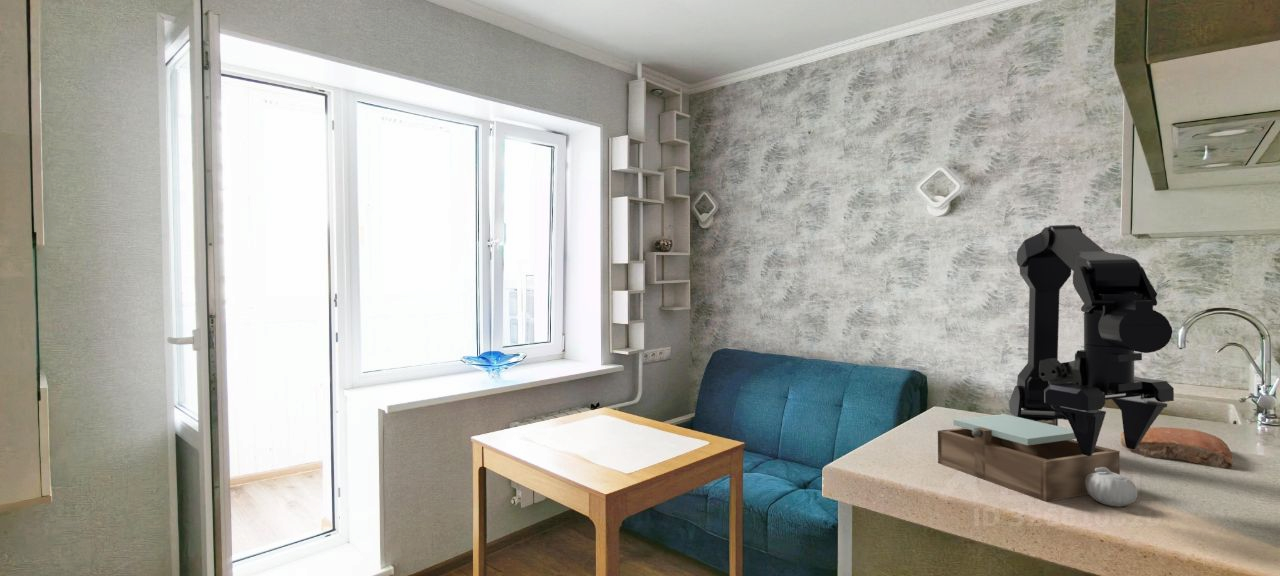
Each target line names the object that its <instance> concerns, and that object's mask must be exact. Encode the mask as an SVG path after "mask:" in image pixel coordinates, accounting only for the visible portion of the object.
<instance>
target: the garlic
mask: <svg viewBox="0 0 1280 576" xmlns="http://www.w3.org/2000/svg"><path fill="white" fill-rule="evenodd" d="M1095 471H1096V473H1091V474H1088V475H1087V476H1086V479H1085V485H1086V489H1087V491H1088V493H1089V494H1088V495H1090V496H1091V498H1093V499H1094V500H1096V502H1098V503H1101V504H1103V505H1106V506H1111V507H1123V506H1124V507H1125V506H1128V505H1131V504H1133V503H1134V502H1135V501H1136V500H1137V498H1138V497H1137V496H1138V489H1137V486H1136V484H1135V483H1134V482H1133V481H1132V480H1131V479H1129V478H1128V477H1127V476H1124V475H1122V474H1120V475H1119V474H1117V473H1113V472H1111V471H1110V470H1109V469H1108V468H1105V467H1100V468H1095ZM1099 471H1106V472H1099Z"/></svg>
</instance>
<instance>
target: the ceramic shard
mask: <svg viewBox="0 0 1280 576" xmlns="http://www.w3.org/2000/svg"><path fill="white" fill-rule="evenodd" d="M1119 436H1120V444H1121V445H1122V446H1123V447H1124V448H1125V449H1126V450H1127V451H1129V452H1131V453H1134V454H1138V455H1140V456H1143V457H1144V458H1152V459H1153V458H1154V459H1155V458H1157V459H1169V460H1170V459H1171V460H1183V461H1187V462H1190V463H1192V462H1193V464H1201V465H1205V466H1211V467H1216V468H1219V469H1220V468H1222V469H1226V470H1228V469H1230V470H1231V469H1232V468H1233V467H1234V459H1233V454H1232V452H1231V449H1230V448H1229V445H1228V444H1227V443H1225V441H1224V440H1223V439H1221V438H1219V437H1218V436H1216V435H1214V434H1211V433H1208V432H1203V431H1201V430H1195V429H1189V428H1181V427H1180V428H1178V427H1164V426H1163V427H1162V426H1161V427H1160V426H1154V427H1150V428H1149V429H1148V431H1147V432H1146V434H1145V435H1144V437H1143V439H1142V440H1141V442H1140V443H1139V445H1138V446H1137V448H1136V449H1129V448H1127V447H1126V444H1125V439H1124V431H1123V432H1121V433H1120V435H1119Z"/></svg>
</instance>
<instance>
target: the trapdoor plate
mask: <svg viewBox="0 0 1280 576" xmlns="http://www.w3.org/2000/svg"><path fill="white" fill-rule="evenodd" d="M952 420H953V426H955V427H957V428H958V427H959V428H966V429H969V430H974V428H985V429H989V430H992V436H995V437H999V438H1002V439H1006V440H1010V441H1013V442H1017V443H1021V444H1024V445H1034V444H1042V443H1049V442H1056V441H1064V440H1076V437H1075V435H1074V432H1073V430H1072V428H1068V427H1063V426H1059V425H1058V426H1055V425H1051V424H1046V423H1042V422H1037V421H1033V420H1029V419H1024V418H1020V417H1016V416H1014V415H1012V414H1006V413H1001V414H991V415H983V416H975V417H964V418H956V419H952Z"/></svg>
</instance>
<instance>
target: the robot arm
mask: <svg viewBox="0 0 1280 576" xmlns="http://www.w3.org/2000/svg"><path fill="white" fill-rule="evenodd" d="M1016 263H1017V266H1018V268H1019V274H1020V276H1021V277H1022V279H1023V281H1024V282H1025V283H1026V286H1027V287H1028V288H1029V290H1028V292H1029V295H1028V296H1029V297H1028V298H1029V299H1028V300H1029V301H1028V303H1029V304H1028V334H1027V335H1028V336H1027V337H1028V342H1027V345H1028V347H1027V363H1025V366H1024V367H1023V368H1022V369H1021V370H1020V372H1018V374H1017V377H1016V378H1017V380H1016V381H1017V382H1016V385H1015V386H1014V388H1013V391H1012V393H1011V395H1010V398H1009V401H1008V407H1009V413H1010V415H1012V416H1015V417H1020V418H1024V419H1029V420H1033V421H1040V420H1045V421H1050V420H1054V421H1055V422H1056V426H1059V424H1058V421H1059V420H1064V421H1065V420H1066V421H1068V423H1069V425H1070V427H1071V429H1072V430H1073V432H1074V435H1075V437H1076V439H1075V441H1077V442H1078V445H1079V447H1080V450H1081V452H1082V454H1083V455H1086V456H1092V454H1093V451H1094V449H1095V446H1097V442H1098V439H1099V436H1100V433H1101V431H1102V426H1103V424H1104V420H1105V417H1106V414H1107V411H1105V410H1102V409H1103V408H1104V406H1105V404H1106V400H1107V401H1108V400H1112V401H1113V402H1114V404H1115V405H1116V406H1117V407H1118V408H1119V410H1120V412H1121V420H1122V427H1123V428H1122V429H1123V432H1124V439H1125V444H1126V447H1127V448H1129V449H1136V448H1137V446H1138V445H1139V443H1140V442H1141V440H1142V439H1143V437H1144V435H1145V434H1146V432H1147V431H1148V429H1149V428H1151V427H1152V425H1153V424H1154V422H1155V421H1156V419H1157V418H1158V416H1159V415H1160V414H1161V412H1162V411H1163V410H1164V409H1165V408H1167V407H1168V402H1173V401H1175V398H1174V397H1175V394H1174V393H1175V391H1174V386H1172V385H1171V384H1170V383H1169V382H1168V380H1161V379H1153V378H1145V377H1140V376H1139V377H1137V376H1135V361H1142V360H1143V354H1149V353H1155V352H1157V351H1161V350H1162V349H1163V348H1165V347H1166V346H1167V345H1168V344H1169V342H1170V340H1171V338H1172V336H1173V335H1172V334H1173V327H1172V326H1171V324H1170V321H1169V319H1168V318H1166V316H1165V315H1164V314H1162V313H1161V312H1159V311H1157V310H1155V309H1154V306H1157V305H1158V300H1157V295H1158V293H1157V291H1156V289H1155V288H1154V286H1153V284H1152V282H1151V281H1150V279H1149V277H1148V276H1147V273H1146V271H1145V268H1144V267H1142V266H1141V264H1140V262H1139V261H1138V260H1137V259H1136V258H1133V257H1131V256H1128V255H1125V254H1121V253H1114V252H1109V251H1106V250H1104V249H1103V248H1102V247H1101V246H1100V245H1098V244H1097V243H1095V241H1093V240H1092V239H1091V238H1090V237H1088V236H1087V235H1086V234H1085V233H1083V230H1082V228H1081V226H1079V225H1075V224H1058V225H1056V224H1055V225H1053V224H1052V225H1048V226H1046V227H1043V229H1042V230H1041V231H1040V232H1039V233H1038V234H1035V235H1032V236H1030V237H1029V238H1026V239H1024V241H1023V242H1022V243H1021V245H1020V246H1019V248H1018V249H1017V251H1016ZM1072 271H1073V274H1072ZM1071 275H1072V285H1073V287H1074V290H1075V291H1076V293H1077V294H1078V295H1079V298H1080V300H1081V301H1082V302H1083V304H1082V306H1081V307H1080V311H1081V312H1083V349H1081V350H1076V352H1075V354H1074V360H1072V361H1067V362H1060V361H1059V358H1058V357H1059V356H1058V354H1059V325H1060V323H1059V322H1060V321H1059V319H1060V317H1059V316H1060V291H1061V289H1062V287H1063V286H1064V284H1065V283H1066V282H1067V281H1068V280H1069V278H1070V277H1071ZM1166 402H1167V403H1166Z"/></svg>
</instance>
